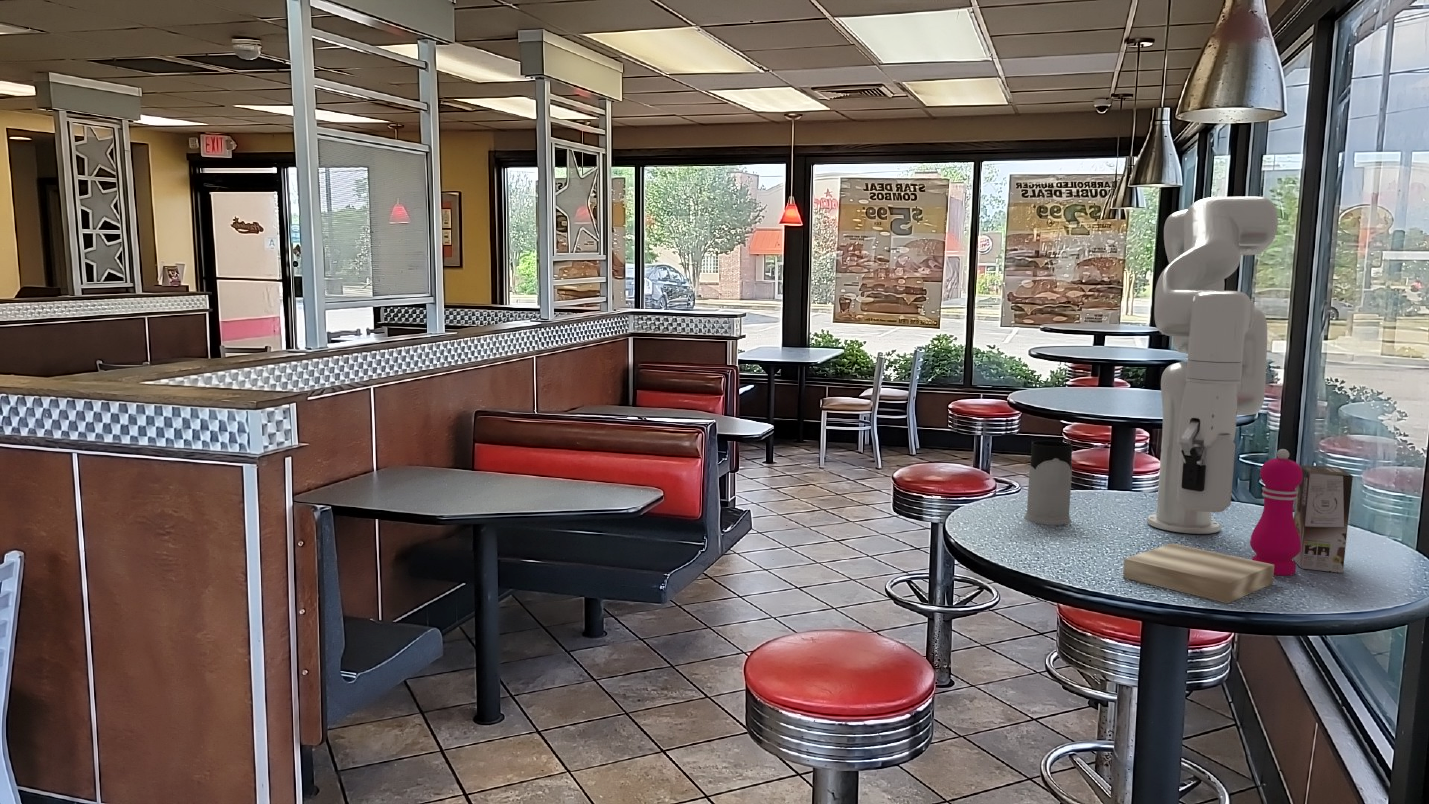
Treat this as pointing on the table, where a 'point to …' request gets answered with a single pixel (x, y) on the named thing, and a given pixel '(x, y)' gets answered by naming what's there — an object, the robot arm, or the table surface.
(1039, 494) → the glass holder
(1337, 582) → the table surface
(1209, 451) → the can
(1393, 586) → the table surface
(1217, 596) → the plinth
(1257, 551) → the pepper mill
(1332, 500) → the coffee box
